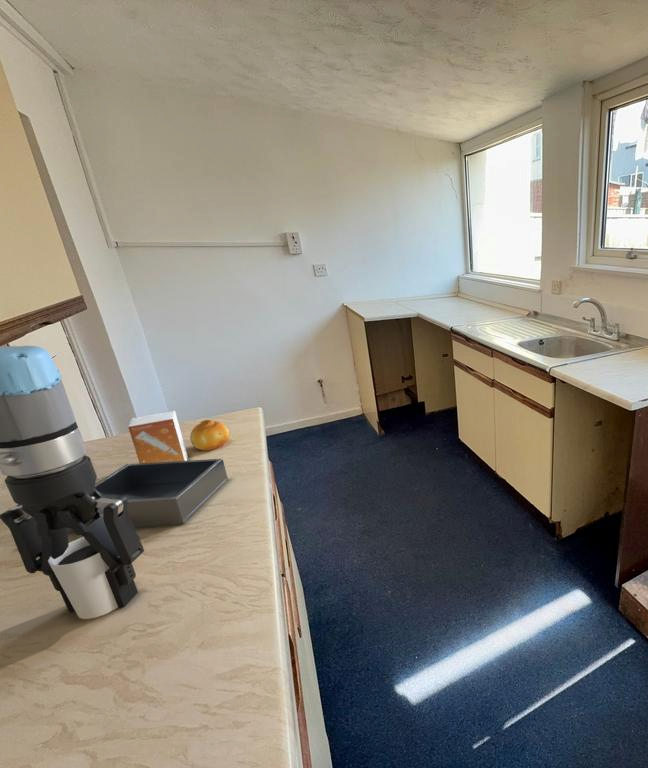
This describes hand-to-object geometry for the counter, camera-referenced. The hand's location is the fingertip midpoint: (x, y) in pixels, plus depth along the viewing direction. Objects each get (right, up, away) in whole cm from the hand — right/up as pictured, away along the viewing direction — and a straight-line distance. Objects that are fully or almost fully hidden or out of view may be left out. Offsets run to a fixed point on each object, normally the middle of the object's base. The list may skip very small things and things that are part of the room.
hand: (104, 601), depth 59 cm
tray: (-13, +7, +23) cm, 28 cm away
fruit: (-20, +15, +48) cm, 55 cm away
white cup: (0, 0, 0) cm, 0 cm away
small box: (-24, +12, +38) cm, 47 cm away
